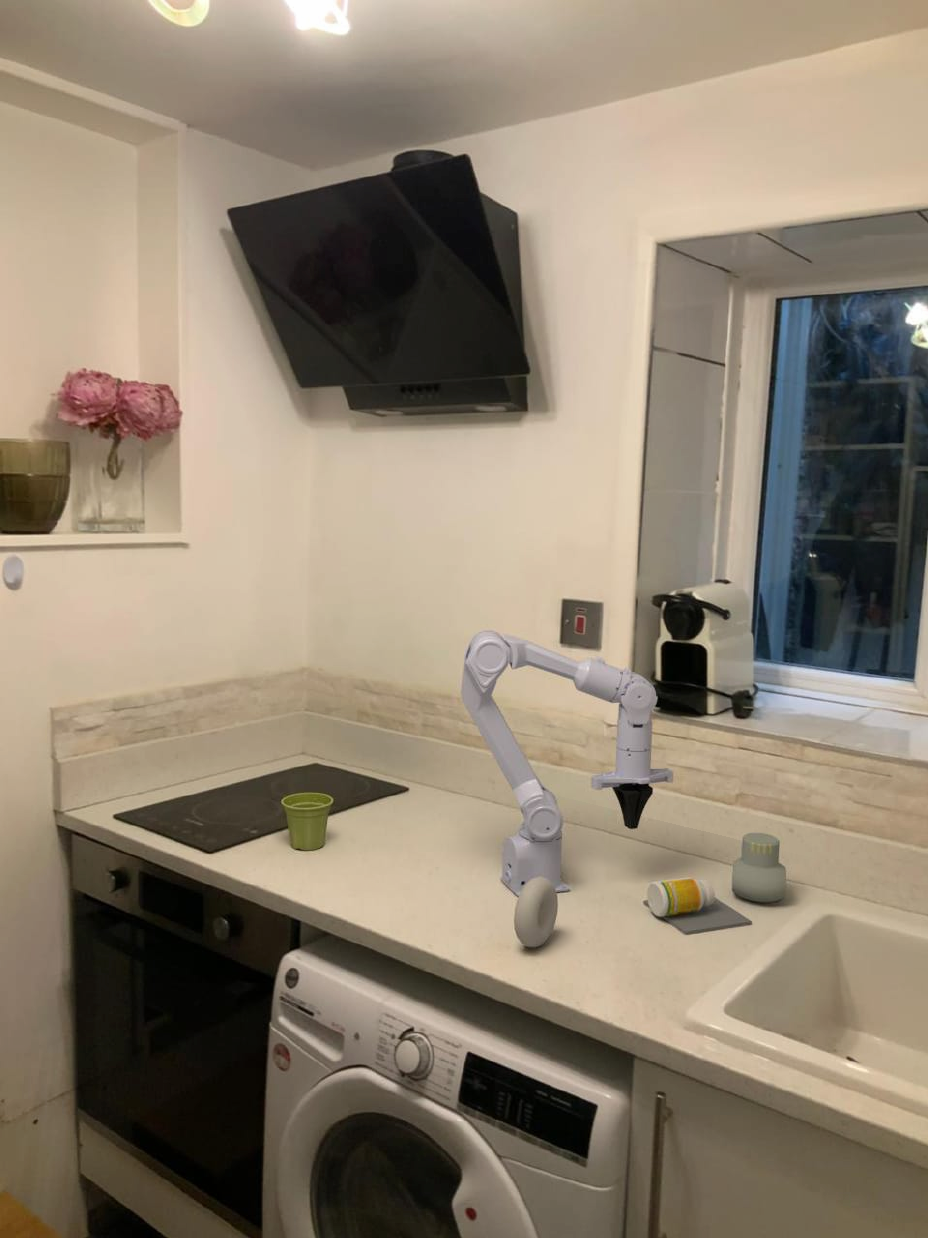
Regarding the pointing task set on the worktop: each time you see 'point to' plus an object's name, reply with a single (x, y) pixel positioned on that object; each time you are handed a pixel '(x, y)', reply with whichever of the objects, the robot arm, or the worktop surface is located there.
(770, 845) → the air freshener
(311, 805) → the plant pot
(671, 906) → the supplement bottle
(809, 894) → the worktop surface
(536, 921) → the donut
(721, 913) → the mat
